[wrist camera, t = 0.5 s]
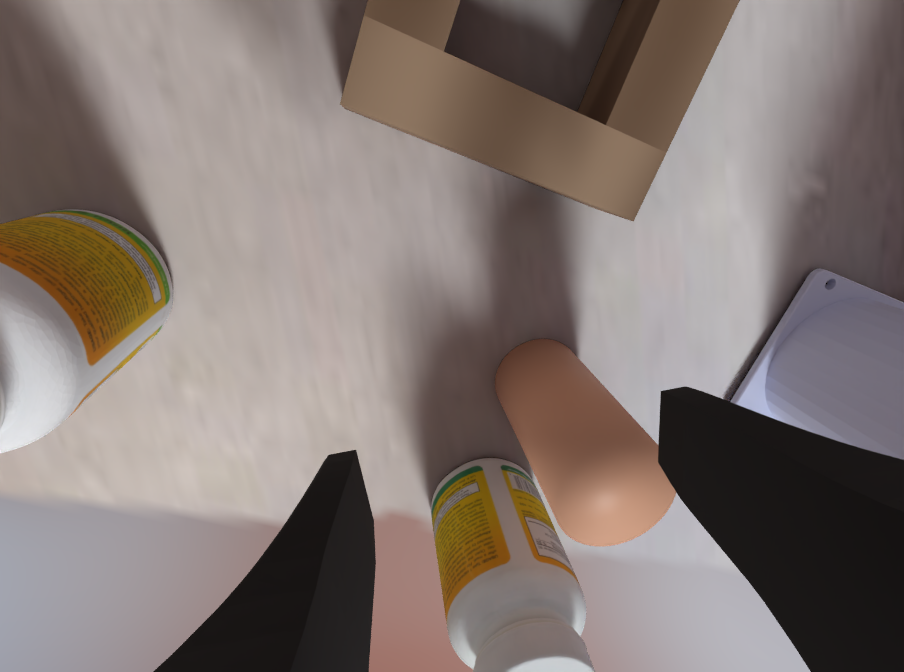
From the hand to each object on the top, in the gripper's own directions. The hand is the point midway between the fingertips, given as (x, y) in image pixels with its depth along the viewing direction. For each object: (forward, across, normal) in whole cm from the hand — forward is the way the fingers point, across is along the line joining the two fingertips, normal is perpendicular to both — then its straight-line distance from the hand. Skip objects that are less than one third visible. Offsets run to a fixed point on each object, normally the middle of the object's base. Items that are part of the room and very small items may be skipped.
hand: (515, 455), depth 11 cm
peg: (+10, -3, +4) cm, 11 cm away
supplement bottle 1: (+10, +13, -4) cm, 17 cm away
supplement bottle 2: (+10, 0, +10) cm, 15 cm away
